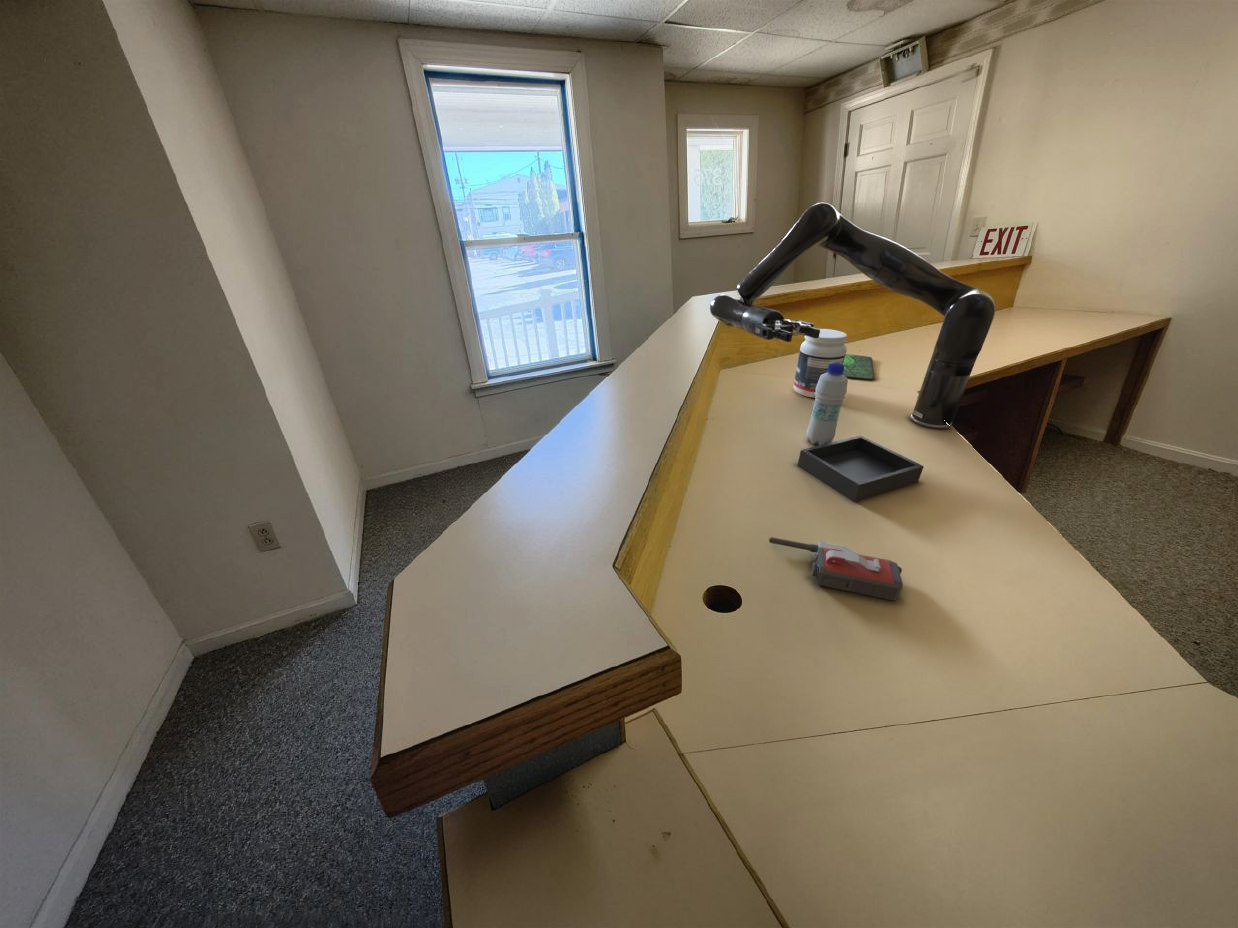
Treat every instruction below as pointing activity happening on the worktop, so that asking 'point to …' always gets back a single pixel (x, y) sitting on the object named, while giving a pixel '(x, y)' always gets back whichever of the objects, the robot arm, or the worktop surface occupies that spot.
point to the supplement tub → (818, 359)
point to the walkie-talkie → (851, 569)
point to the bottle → (827, 405)
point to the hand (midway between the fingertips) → (804, 336)
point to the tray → (859, 467)
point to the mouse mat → (858, 367)
